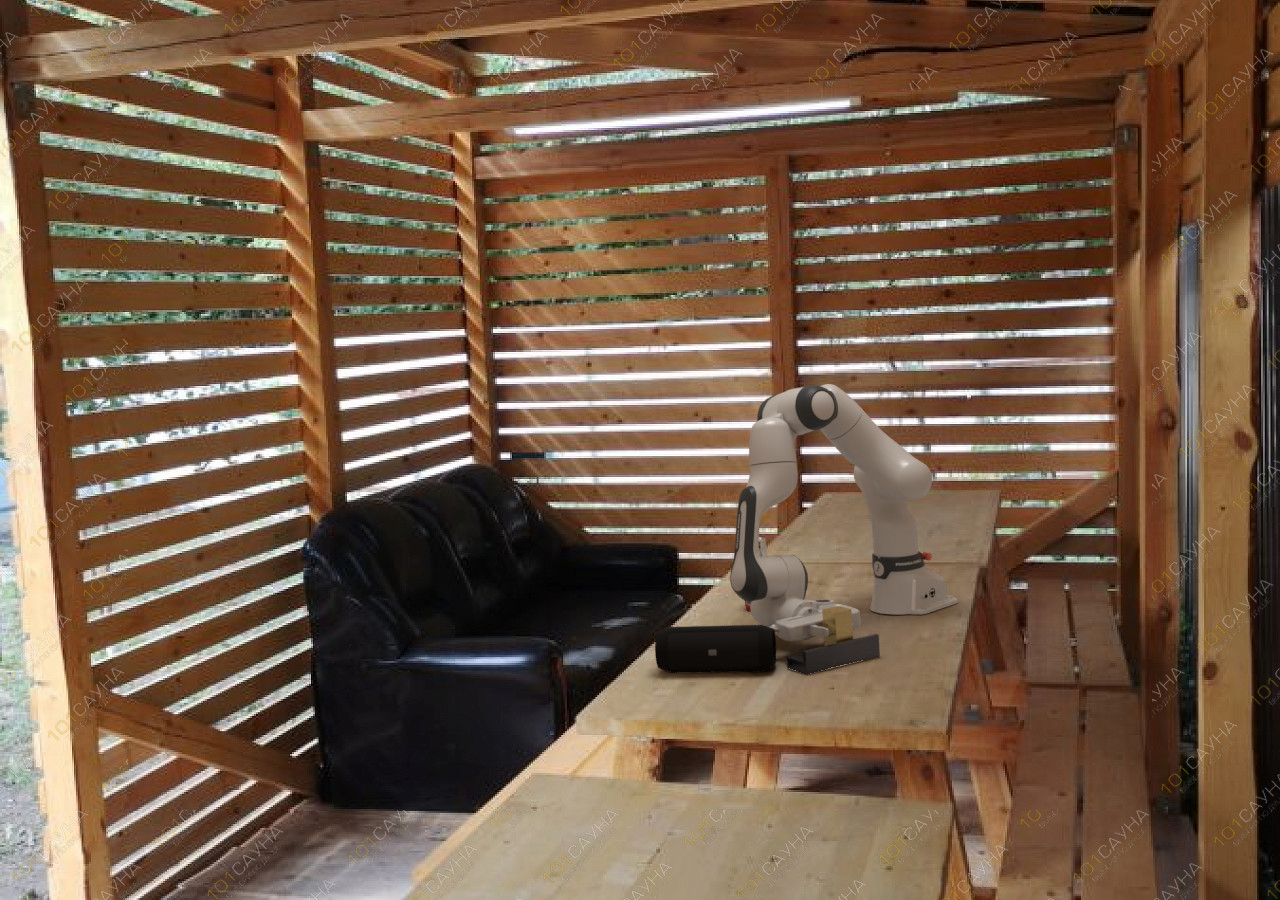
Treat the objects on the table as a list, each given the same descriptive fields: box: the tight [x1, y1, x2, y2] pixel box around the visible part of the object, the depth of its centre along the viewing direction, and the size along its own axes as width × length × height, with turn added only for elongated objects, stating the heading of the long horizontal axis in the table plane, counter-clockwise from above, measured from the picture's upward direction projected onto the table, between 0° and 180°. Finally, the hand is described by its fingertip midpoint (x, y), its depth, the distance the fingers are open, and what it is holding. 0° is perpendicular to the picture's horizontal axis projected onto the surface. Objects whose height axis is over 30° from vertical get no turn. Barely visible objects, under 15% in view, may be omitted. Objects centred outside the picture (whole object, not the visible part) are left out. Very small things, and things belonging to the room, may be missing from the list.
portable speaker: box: [654, 624, 777, 674], centre depth 294 cm, size 26×10×10 cm, turn 79°
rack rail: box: [786, 633, 881, 676], centre depth 294 cm, size 7×20×5 cm, turn 120°
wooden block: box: [822, 606, 854, 646], centre depth 295 cm, size 4×4×10 cm
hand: (840, 630), depth 294 cm, fingers closed on wooden block, 4 cm apart
